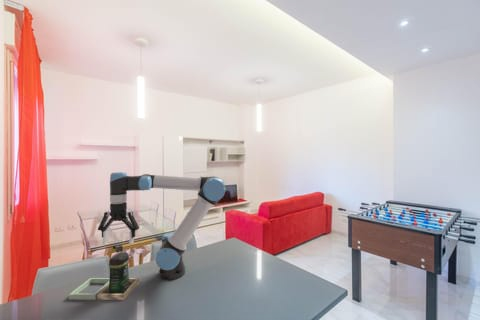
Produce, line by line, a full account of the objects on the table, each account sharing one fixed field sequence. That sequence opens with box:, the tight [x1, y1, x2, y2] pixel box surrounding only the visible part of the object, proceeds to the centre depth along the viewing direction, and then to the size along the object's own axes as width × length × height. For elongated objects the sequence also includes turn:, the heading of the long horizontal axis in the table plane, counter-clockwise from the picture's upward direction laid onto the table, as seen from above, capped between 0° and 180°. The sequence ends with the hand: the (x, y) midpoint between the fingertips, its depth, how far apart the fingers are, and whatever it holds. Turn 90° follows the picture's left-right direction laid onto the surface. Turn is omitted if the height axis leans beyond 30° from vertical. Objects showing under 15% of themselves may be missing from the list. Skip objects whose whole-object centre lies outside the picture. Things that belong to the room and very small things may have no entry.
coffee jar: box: [108, 251, 130, 294], centre depth 115 cm, size 10×8×19 cm
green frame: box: [68, 277, 110, 301], centre depth 116 cm, size 13×15×2 cm
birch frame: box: [96, 277, 140, 301], centre depth 115 cm, size 13×15×2 cm
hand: (118, 243), depth 115 cm, fingers open, 13 cm apart
